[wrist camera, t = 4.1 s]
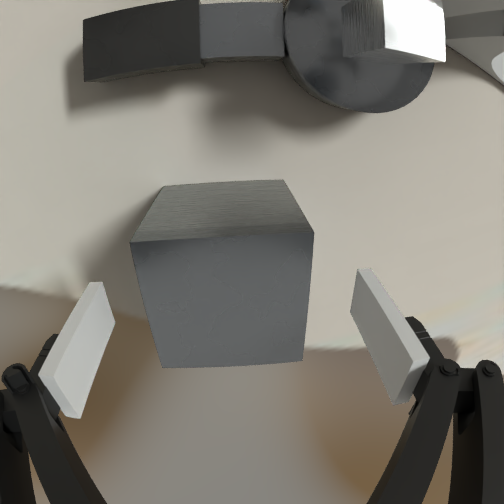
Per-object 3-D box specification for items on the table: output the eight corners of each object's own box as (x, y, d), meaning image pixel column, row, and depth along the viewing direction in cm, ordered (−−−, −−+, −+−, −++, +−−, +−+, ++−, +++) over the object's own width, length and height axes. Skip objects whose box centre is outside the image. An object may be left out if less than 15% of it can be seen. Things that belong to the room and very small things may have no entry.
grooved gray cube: (178, 286, 23) (162, 367, 16) (163, 186, 20) (129, 242, 13) (281, 280, 24) (302, 360, 17) (283, 179, 20) (314, 232, 13)
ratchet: (105, 121, 17) (39, 143, 10) (102, -7, 13) (40, -45, 6) (409, 115, 18) (488, 137, 11) (407, -5, 14) (481, -29, 7)
